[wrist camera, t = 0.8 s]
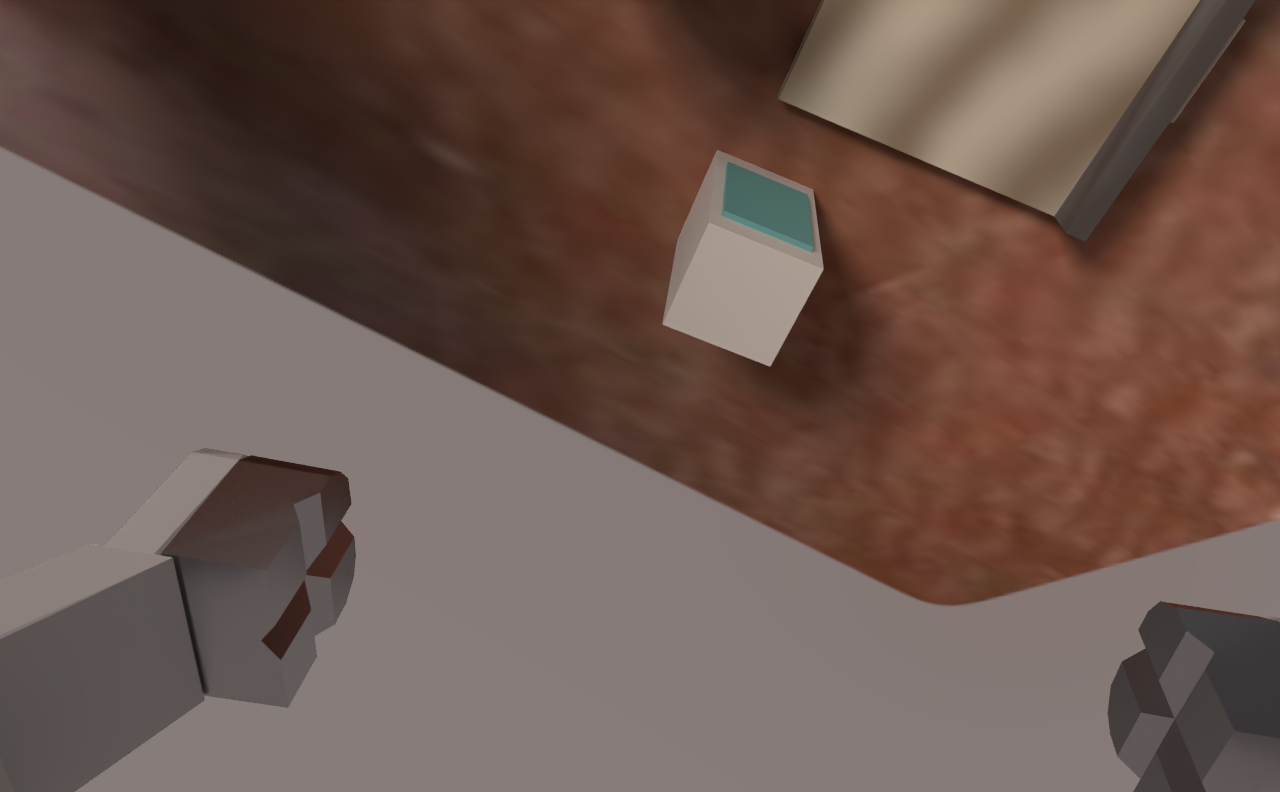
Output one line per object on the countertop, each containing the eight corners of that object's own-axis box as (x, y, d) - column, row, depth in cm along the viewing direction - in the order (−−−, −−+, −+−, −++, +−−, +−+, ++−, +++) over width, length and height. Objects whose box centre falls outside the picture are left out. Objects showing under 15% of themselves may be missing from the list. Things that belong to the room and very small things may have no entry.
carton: (677, 239, 48) (662, 324, 41) (719, 144, 46) (711, 217, 38) (768, 276, 49) (770, 366, 41) (815, 184, 46) (826, 263, 39)
